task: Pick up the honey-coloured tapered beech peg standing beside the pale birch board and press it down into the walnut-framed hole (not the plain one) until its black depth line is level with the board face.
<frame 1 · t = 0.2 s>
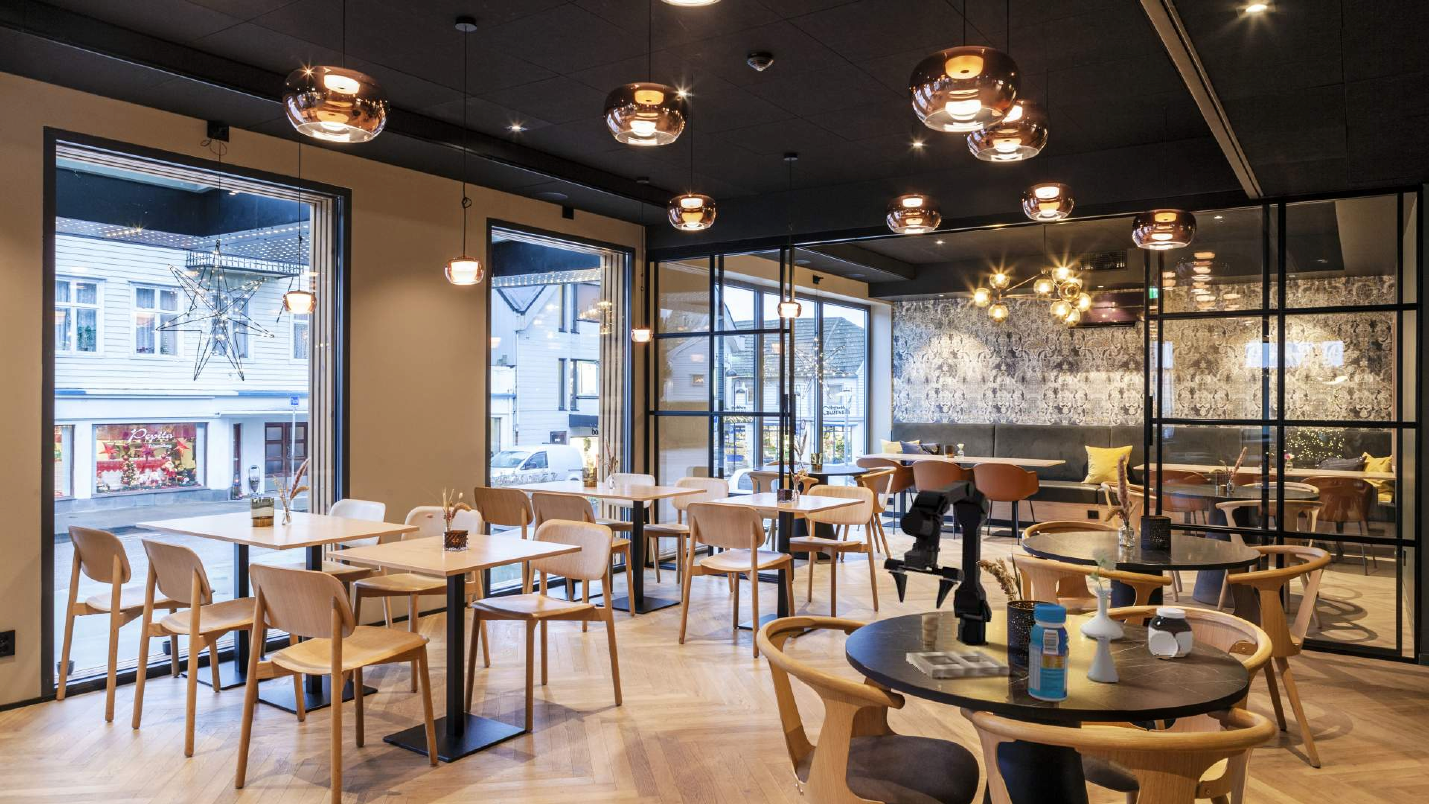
hand: (919, 605, 224), 15 cm above the table, tool pointing down, fingers open, 9 cm apart
flower in vase: (1100, 637, 261), on the table
beverage bottle: (1047, 697, 206), on the table
flask: (1102, 680, 220), on the table
spread jar: (1168, 656, 243), on the table
peg: (929, 651, 241), on the table
board: (956, 667, 226), on the table
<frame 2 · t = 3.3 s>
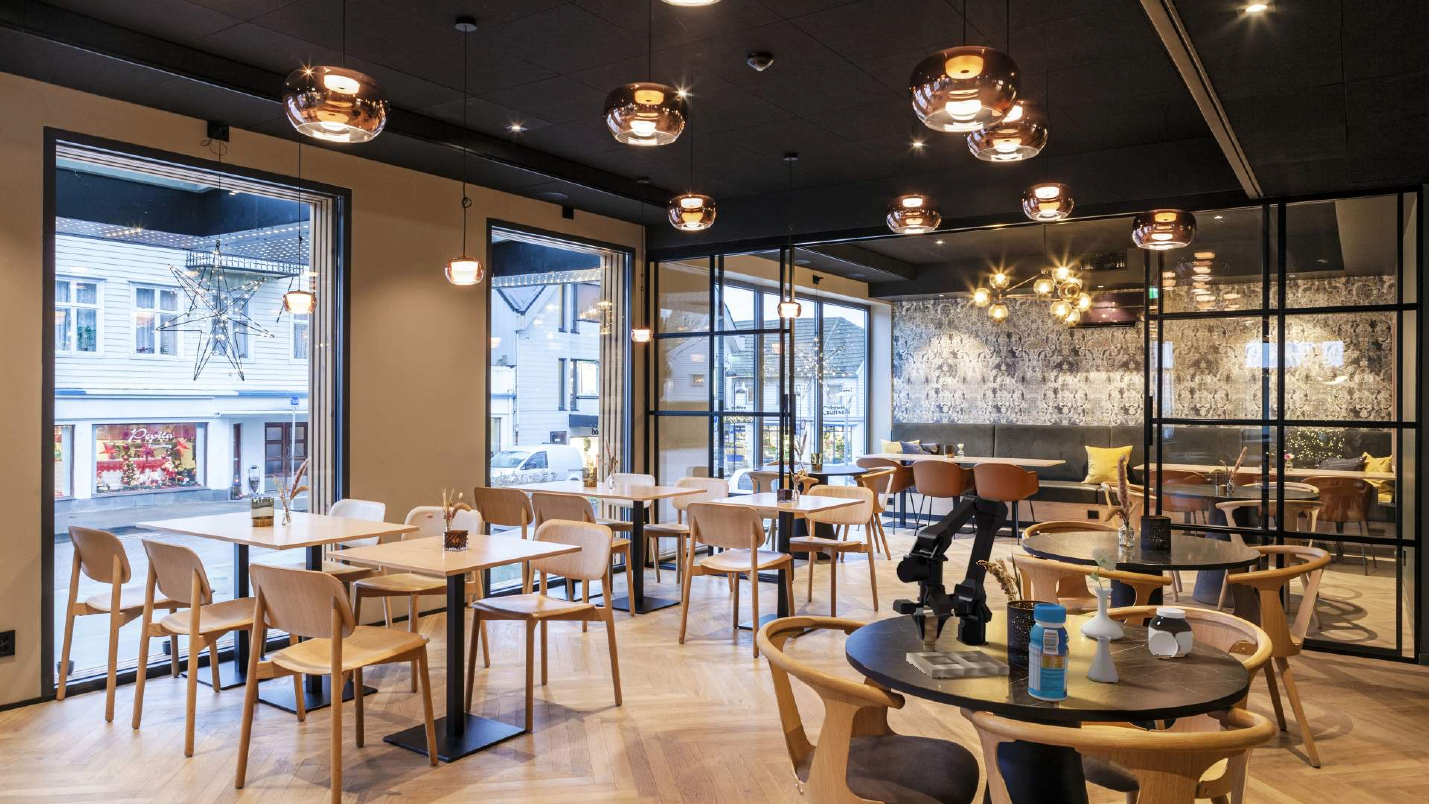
hand: (929, 639, 241), 3 cm above the table, tool pointing down, fingers closed on peg, 4 cm apart
peg: (929, 651, 241), on the table, touching gripper
everything else where it was.
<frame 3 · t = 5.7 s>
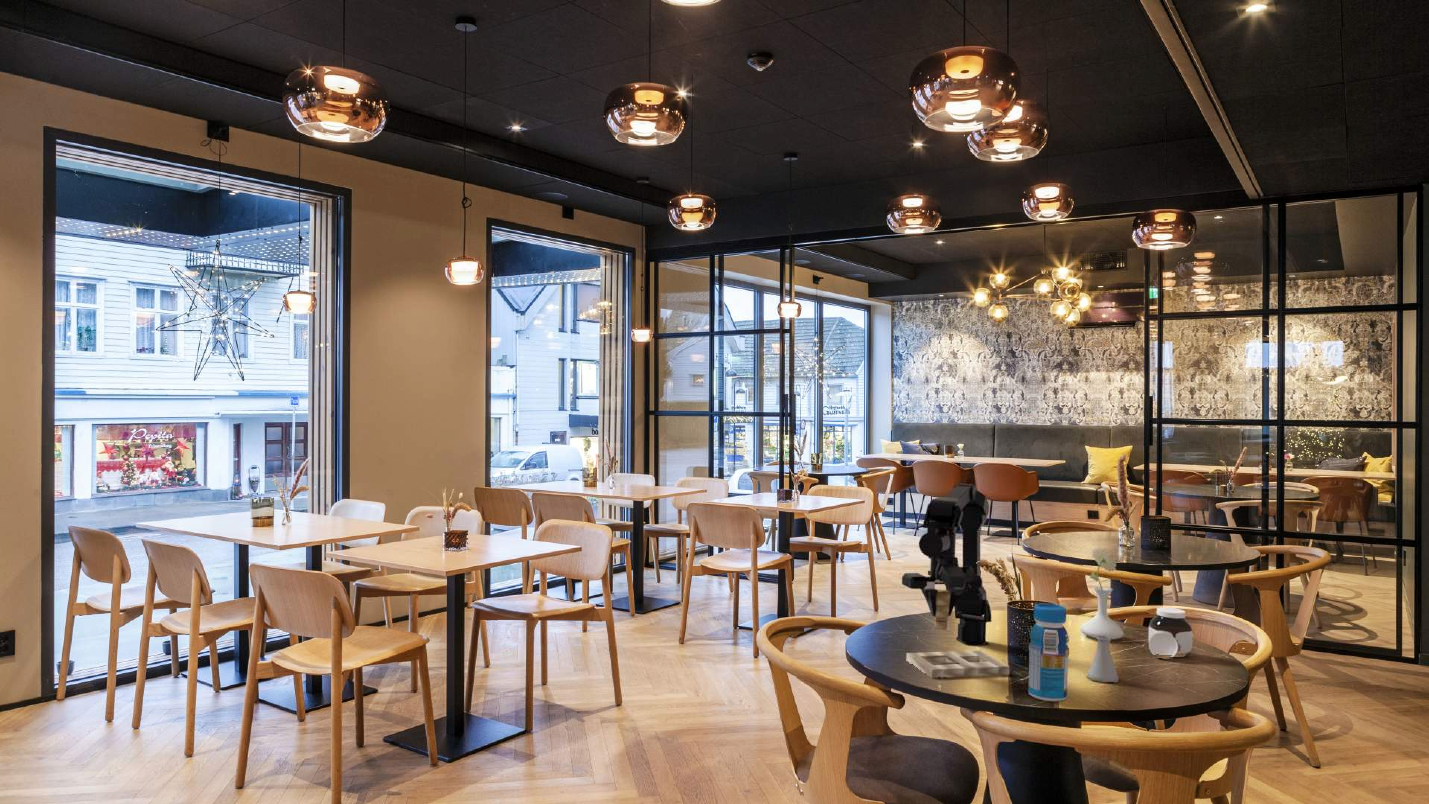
hand: (941, 616, 225), 13 cm above the table, tool pointing down, fingers closed on peg, 4 cm apart
peg: (940, 628, 225), point 10 cm above the table, touching gripper
everything else where it was.
when the fingers open (3 cm above the table, at t = 8.4 s): peg stays where it is, resting in board.
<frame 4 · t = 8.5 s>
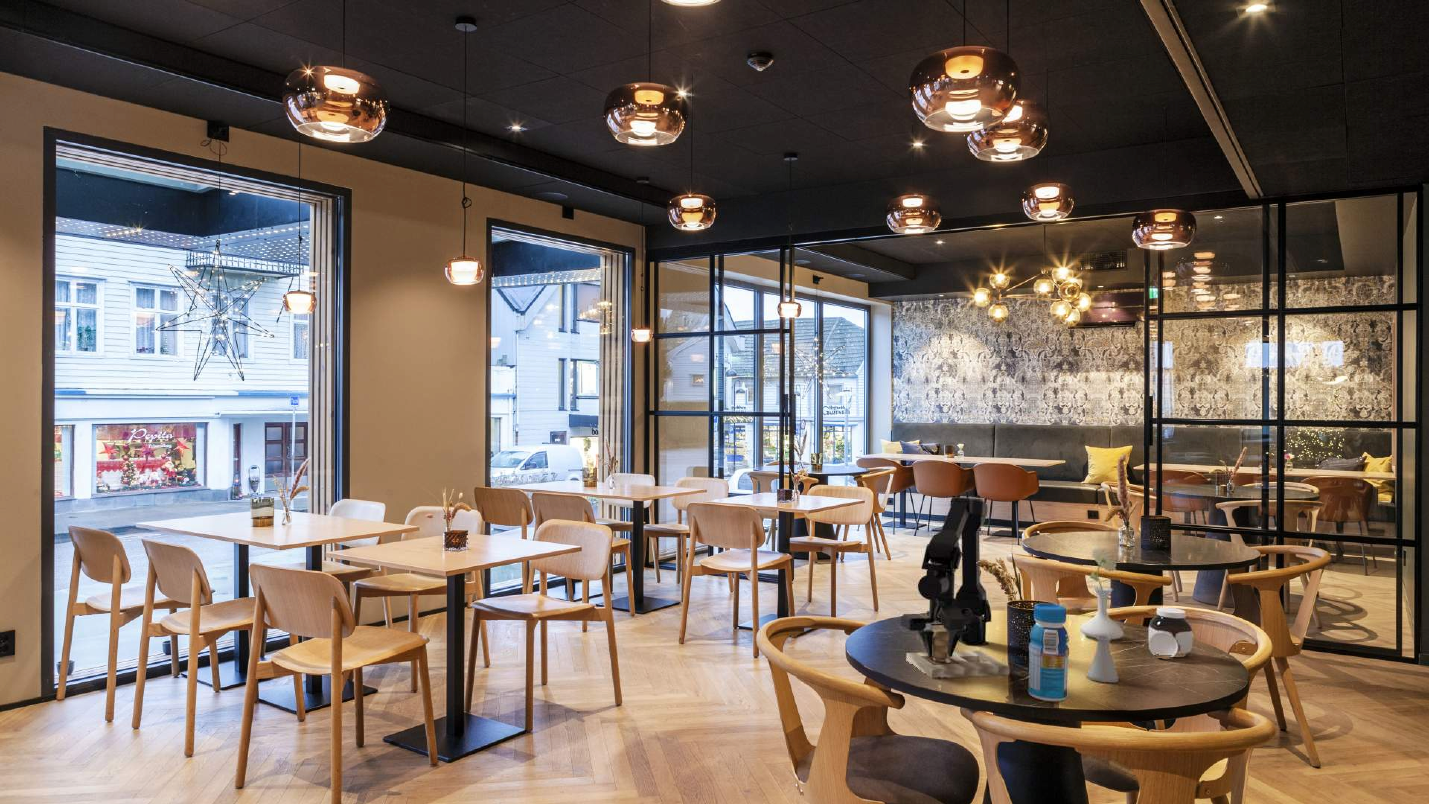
hand: (940, 656, 225), 3 cm above the table, tool pointing down, fingers open, 5 cm apart
peg: (939, 668, 225), resting in board
everything else where it was.
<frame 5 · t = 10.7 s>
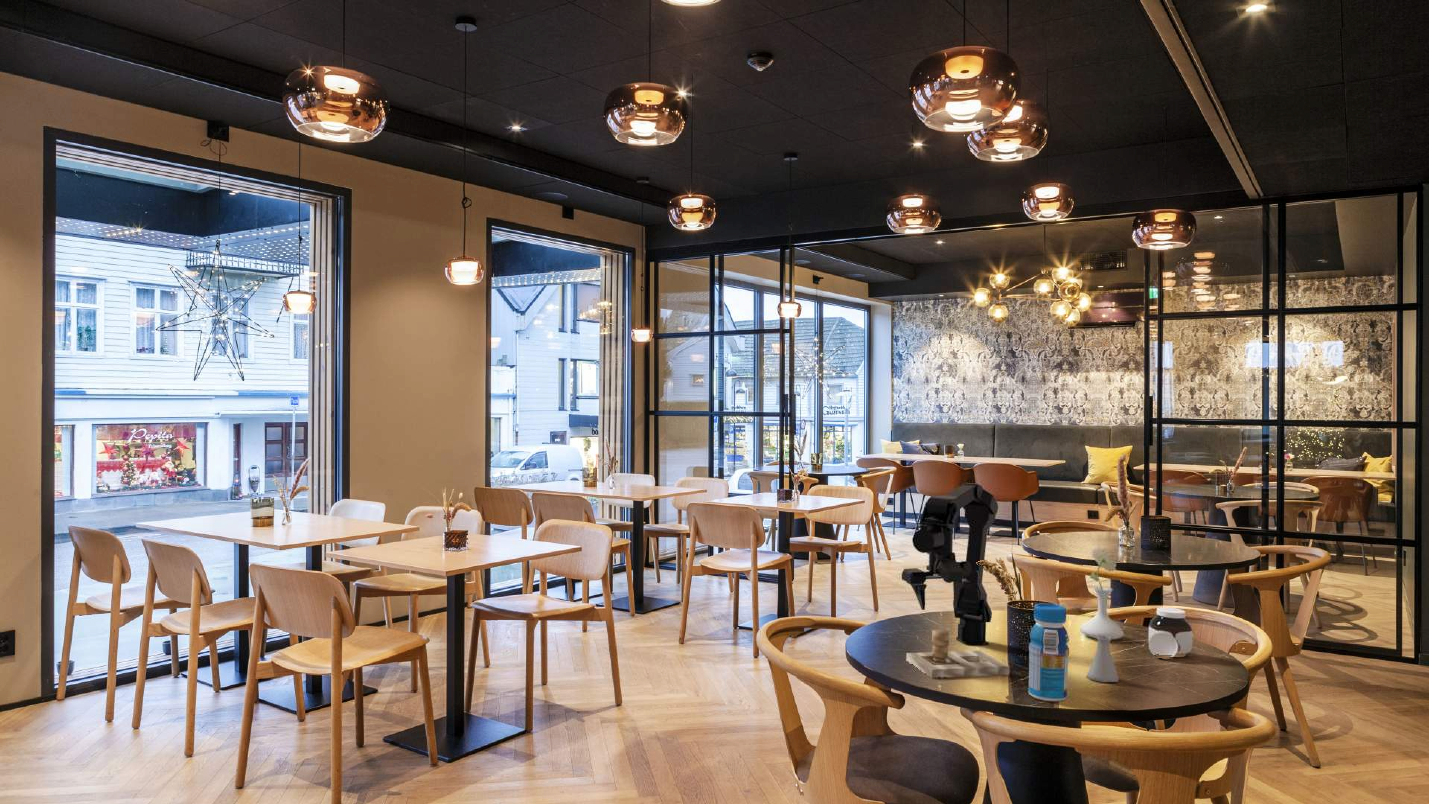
hand: (939, 608, 235), 12 cm above the table, tool pointing down, fingers open, 9 cm apart
nothing on the table moved.
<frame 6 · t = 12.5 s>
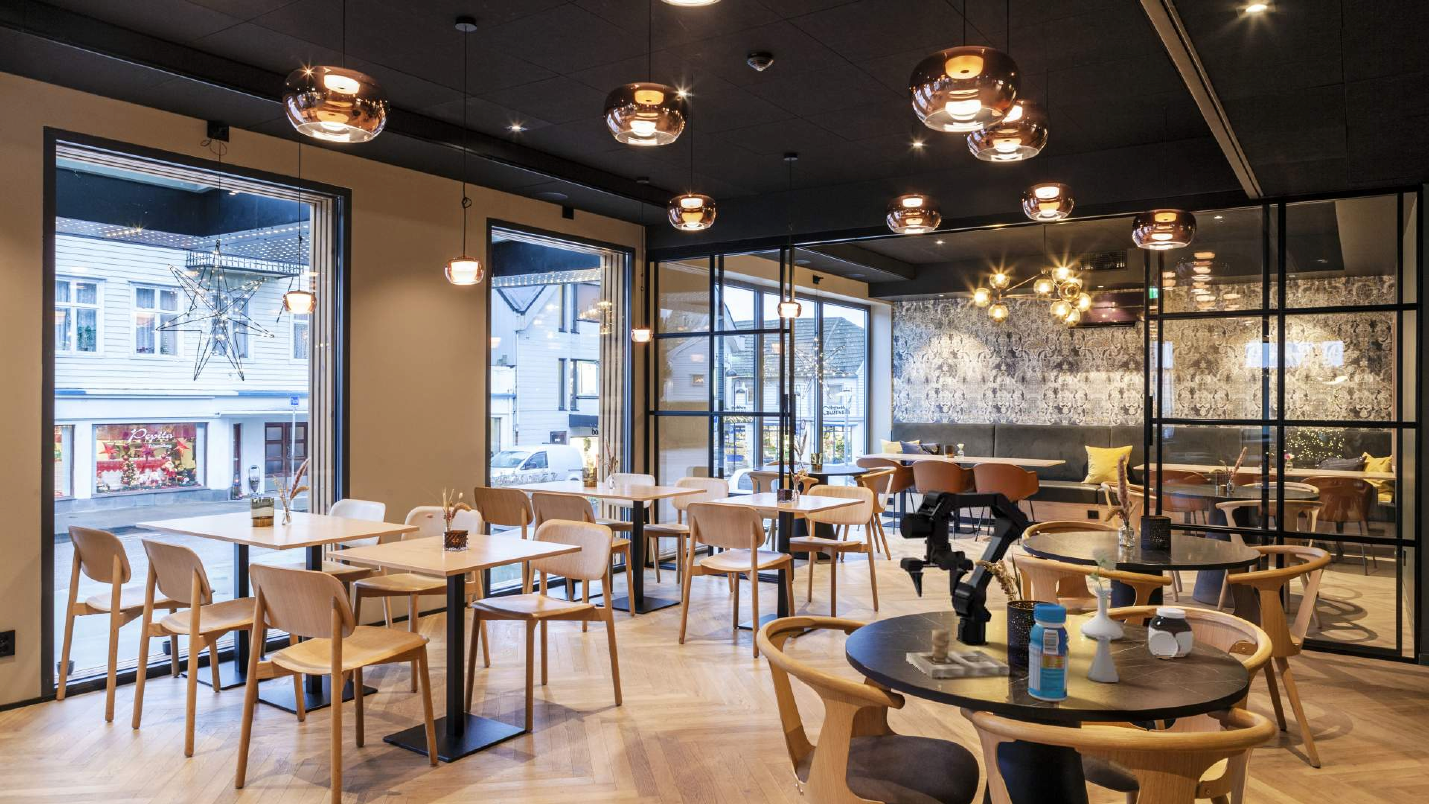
hand: (936, 596, 247), 13 cm above the table, tool pointing down, fingers open, 9 cm apart
nothing on the table moved.
at the end: peg 0.0 cm from the target spot on the board, point 0.0 cm above the board's base; peg tilted 0°; the gripper is holding nothing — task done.
